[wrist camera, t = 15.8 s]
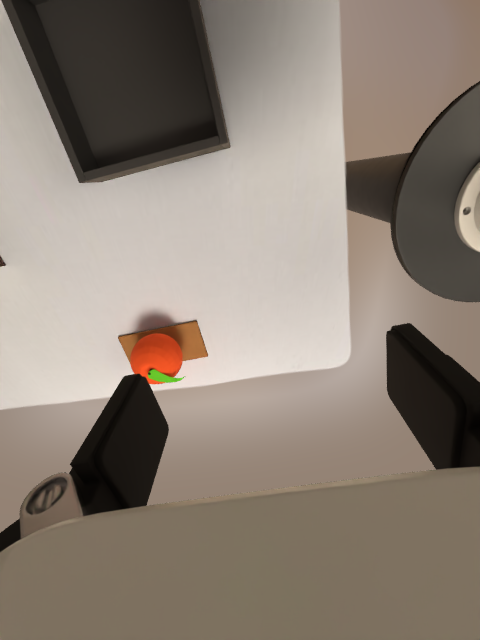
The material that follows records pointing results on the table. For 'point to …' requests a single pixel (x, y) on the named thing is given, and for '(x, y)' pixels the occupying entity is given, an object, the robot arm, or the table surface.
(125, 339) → the cork mat
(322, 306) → the table surface
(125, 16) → the black box
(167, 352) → the clementine
